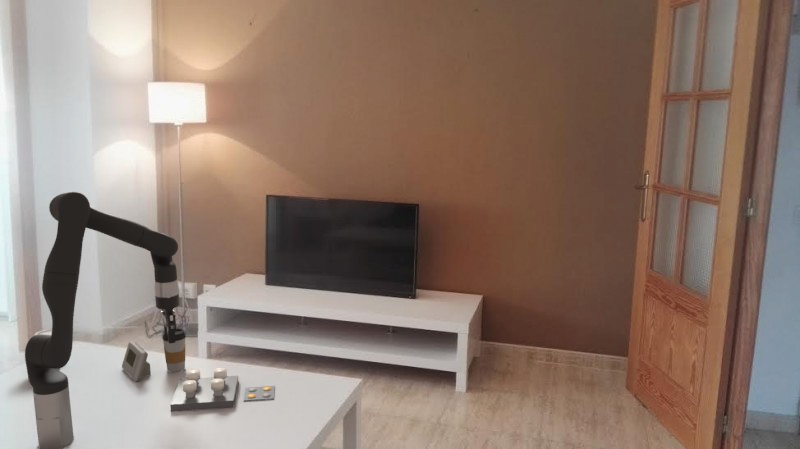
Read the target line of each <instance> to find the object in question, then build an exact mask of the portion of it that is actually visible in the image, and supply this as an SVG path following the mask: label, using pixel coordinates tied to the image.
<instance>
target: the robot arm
mask: <svg viewBox="0 0 800 449" xmlns="http://www.w3.org/2000/svg"><path fill="white" fill-rule="evenodd" d="M90 204H91V203H90V201H89V198H88V197H87V196H86V195H85V194H84V193H81V192H78V191H69V192H63V193H59V194H58V195H56V196H55V197H53V198H52V200H50V203H49V207H48V208H49V209H48V210H49V213H50V215H51V217H52V218H53V219H54V220H56V221H57V228H56V229H57V232H56V238H55V240H54V243H53V245H52V248H51V250H50V252H49V254H48V256H47V258H46V263H45V267H44V271H43V276H42V277H43V278H42V282H41V283H42V284H41V285H42V286H41V290H42V294H43V295H42V296H43V297H44V300H45V302H46V305H47V307H48V309H49V312H50V316H51V321H52V322H51V324H52V326H51V329H52V334H51V335H43V334H39V335H35V334H34V335H35V336H34V335H33V336H32V337H31V338H29V340H28V341H27V343H26V344H25V348H24V361H25V366H26V372H27V377H28V383H29V385H30V386H31V388H32V394H33V403H34V404H33V405H34V414H35V424H36V432H37V440H38V441H37V443H38V447H39V449H64V448H65V447H66V446H68V445H70V444H71V443H72V442H73V441H74V438H75V437H74V436H75V435H74V428H73V419H72V418H73V416H72V408H71V398H70V387H69V384H70V383H69V377H68V375H66V374H65V373H64V372H61V371H60V369H63V368H64V367H66V365H67V364H68V363H69V361H70V358H71V356H72V351H73V342H74V339H73V338H74V336H73V335H74V315H75V305H76V296H77V291H78V285H79V277H80V268H81V260H82V253H83V244H84V243H83V242H84V236H85V232H86V230H87V229H88V230H92V231H95V232H98V233H101V234H104V235H107V236H109V237H111V238H114V239H117V240H118V241H121V242H124V243H126V244H130V245H133V246H135V247H138V248H142V249H144V250H147V251H148V252H150V257H151V261H152V264H153V268H154V271H153V272H154V295H155V296H154V297H155V298H154V299H155V307H156V308H157V309H159V310H161V311H160V312H161V320H162V324H163V334H164V333H165V335H168V342H169V343H175V342H176V340H175V332H176V331H177V330H176V328H177V321H176V317H177V316H176V311H175V310H174V309H176V308H178V307H179V306H180V303H181V302H180V291H179V289H180V288H179V282H178V273H177V272H178V271H177V265H176V263H175V262H174V260H173V256H175V255H176V254H177V253H178V251H179V250H178V249H179V243H178V242H177V240H176V239H175V238H174V237H172V236H170V235H168V234H166V233H162V232H158V231H155V230H153V229H151V228H149V227H148V226H146V225H144V224H141V223H138V222H136V221H133V220H131V219H128V218H126V217H120V216H117V215H114V214H109V213H106V212H104V211H100V210H98V209H96V208H93V207H91V205H90ZM59 368H60V369H59ZM57 369H59V370H57Z"/></svg>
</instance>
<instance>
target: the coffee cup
mask: <svg viewBox="0 0 800 449" xmlns="http://www.w3.org/2000/svg"><path fill="white" fill-rule="evenodd" d="M176 330H177V331H176V332H175V340H176V342H175V343H169V342H168V335H165V333H164V332H163V334H162V341H163V350H164V358H165V359H164V360H165V364H166V370H167V372H169V373H172V374H173V373H181V372H182V371H184V370H185V368H186V337H187V336H186V332H185V330H184V329H183V328H179V327H176Z"/></svg>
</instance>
